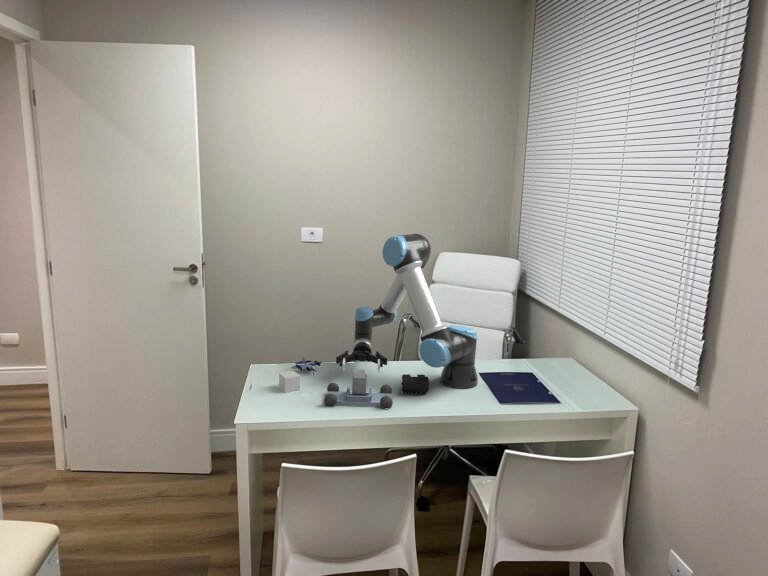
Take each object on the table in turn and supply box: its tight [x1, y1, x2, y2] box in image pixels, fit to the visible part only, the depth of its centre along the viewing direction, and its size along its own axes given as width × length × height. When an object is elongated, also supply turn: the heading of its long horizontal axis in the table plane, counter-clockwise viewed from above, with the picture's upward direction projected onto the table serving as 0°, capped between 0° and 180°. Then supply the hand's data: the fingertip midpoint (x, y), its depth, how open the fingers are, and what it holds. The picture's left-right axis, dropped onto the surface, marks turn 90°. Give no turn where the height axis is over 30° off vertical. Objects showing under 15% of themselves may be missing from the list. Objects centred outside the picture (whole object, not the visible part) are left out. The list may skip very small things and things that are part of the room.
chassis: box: [323, 382, 393, 409], centre depth 212 cm, size 24×12×4 cm, turn 90°
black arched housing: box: [400, 374, 430, 394], centre depth 221 cm, size 10×7×7 cm
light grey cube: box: [278, 370, 301, 394], centre depth 220 cm, size 6×6×6 cm
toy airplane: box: [291, 355, 323, 376], centre depth 239 cm, size 13×14×4 cm
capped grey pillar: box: [351, 368, 368, 396], centre depth 211 cm, size 5×5×10 cm
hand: (361, 367), depth 221 cm, fingers open, 13 cm apart
